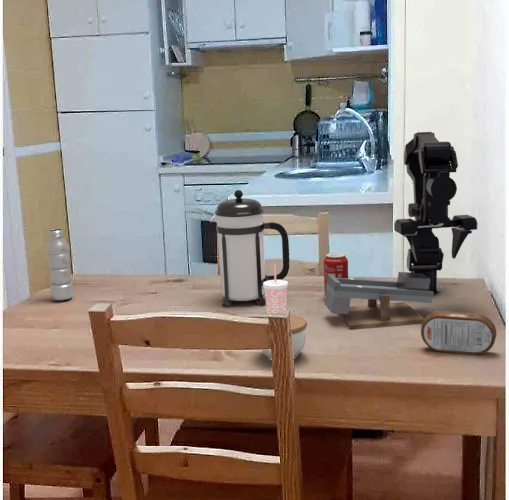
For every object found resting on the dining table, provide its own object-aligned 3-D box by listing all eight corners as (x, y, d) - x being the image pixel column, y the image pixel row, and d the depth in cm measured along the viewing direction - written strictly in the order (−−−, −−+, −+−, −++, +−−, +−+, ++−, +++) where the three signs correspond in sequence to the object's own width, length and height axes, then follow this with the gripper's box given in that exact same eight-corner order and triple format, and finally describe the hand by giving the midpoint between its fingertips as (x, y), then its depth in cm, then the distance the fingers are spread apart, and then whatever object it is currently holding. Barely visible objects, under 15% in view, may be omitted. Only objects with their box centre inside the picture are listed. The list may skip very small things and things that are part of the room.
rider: (419, 289, 174) (422, 273, 173) (427, 295, 168) (430, 279, 168) (396, 287, 173) (398, 271, 172) (403, 293, 168) (406, 277, 167)
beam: (417, 308, 177) (421, 279, 175) (430, 319, 168) (434, 289, 167) (323, 303, 173) (327, 273, 172) (332, 313, 165) (336, 282, 163)
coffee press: (243, 313, 179) (237, 196, 172) (205, 301, 191) (198, 191, 184) (292, 298, 190) (288, 187, 183) (253, 288, 202) (248, 183, 195)
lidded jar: (269, 370, 142) (267, 325, 140) (248, 353, 151) (246, 311, 149) (316, 360, 146) (315, 316, 144) (293, 344, 156) (292, 303, 153)
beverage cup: (261, 320, 172) (258, 265, 169) (269, 313, 178) (266, 259, 175) (285, 322, 170) (282, 266, 167) (292, 314, 176) (290, 260, 173)
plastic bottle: (46, 302, 197) (37, 232, 193) (61, 295, 203) (53, 227, 199) (65, 303, 195) (57, 232, 190) (79, 297, 201) (72, 228, 196)
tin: (495, 352, 146) (497, 313, 144) (495, 357, 143) (496, 318, 141) (421, 346, 151) (421, 308, 149) (419, 351, 148) (419, 313, 146)
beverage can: (348, 294, 191) (347, 251, 188) (348, 301, 184) (348, 257, 182) (324, 295, 191) (323, 252, 189) (324, 302, 185) (323, 257, 183)
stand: (404, 305, 179) (404, 279, 177) (424, 323, 165) (424, 294, 164) (335, 311, 177) (334, 284, 175) (349, 329, 163) (349, 300, 162)
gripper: (460, 188, 176) (458, 250, 179) (387, 193, 174) (387, 255, 177) (479, 194, 165) (477, 259, 168) (401, 199, 163) (401, 265, 166)
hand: (435, 259), depth 170 cm, fingers open, 9 cm apart
